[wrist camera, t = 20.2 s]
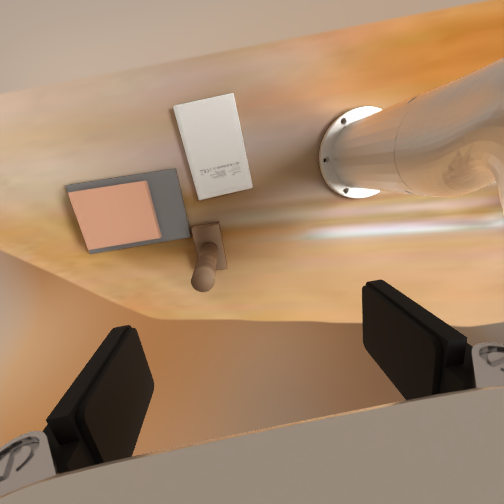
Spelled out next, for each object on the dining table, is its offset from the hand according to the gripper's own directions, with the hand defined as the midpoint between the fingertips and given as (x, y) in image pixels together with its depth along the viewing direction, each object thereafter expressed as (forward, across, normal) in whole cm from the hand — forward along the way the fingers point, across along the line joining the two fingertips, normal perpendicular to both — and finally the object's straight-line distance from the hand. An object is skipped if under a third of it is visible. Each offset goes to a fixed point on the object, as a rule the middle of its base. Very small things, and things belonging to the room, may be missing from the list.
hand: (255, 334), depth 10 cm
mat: (+30, +14, -3) cm, 34 cm away
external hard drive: (+31, +1, -10) cm, 32 cm away
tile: (+29, +11, -3) cm, 31 cm away
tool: (+30, +4, +4) cm, 31 cm away
